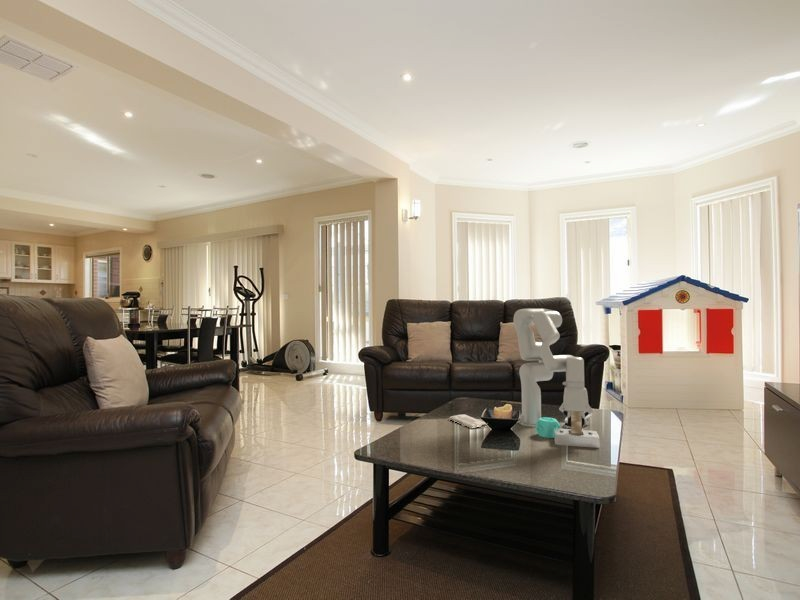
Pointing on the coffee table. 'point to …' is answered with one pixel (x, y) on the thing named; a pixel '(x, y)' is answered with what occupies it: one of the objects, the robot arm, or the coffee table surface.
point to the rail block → (576, 438)
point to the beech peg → (576, 422)
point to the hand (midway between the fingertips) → (576, 425)
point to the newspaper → (467, 420)
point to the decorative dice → (546, 427)
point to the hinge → (584, 419)
